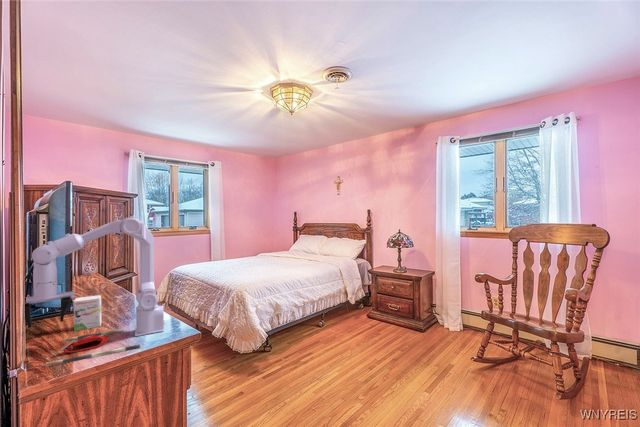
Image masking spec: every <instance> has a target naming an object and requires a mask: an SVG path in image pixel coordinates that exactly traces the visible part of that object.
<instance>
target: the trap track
mask: <svg viewBox="0 0 640 427" xmlns="http://www.w3.org/2000/svg"><path fill="white" fill-rule="evenodd" d="M124 332H125V328H120V329H113V330H107V331H101V332H94V333H90V334H85V335H79V336H73V337H66V338H65V337H64V338H63V339H62V342H63V343H65V342H72V341H73V340H74V341H79V340H80V339H82V338H85V337H87V336H92V335H98V336H99V335H110V334H111V335H112V334H117V333H124ZM140 348H141V344H135V345H129V346H125V347H120V348H115V349H108V350H105V351H100V352H99V351H98V352H94V353H89V354H85V355H79V356H74V357H69V358H64V359H63V358H62V359H59V360H58V359H57V360H54V361H53V360H52V361H48V362H45V364H44V367H45V368H46V367H50V366H52V367H53V366H56V365H61V364H65V363H67V364H68V363H70V362H76V361H81V360H85V359H91V358H96V357H101V356H106V355H112V354H115V353H122V352H125V351H126V352H127V351H131V350H135V349H136V350H137V349H140Z"/></svg>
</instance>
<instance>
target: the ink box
mask: <svg viewBox="0 0 640 427" xmlns="http://www.w3.org/2000/svg"><path fill="white" fill-rule="evenodd" d="M101 325H102V295H100V294H98V295H97V294H96V295H91V296H90V295H89V296H82V297H80V296H79V297H75V299H74V300H73V331H74V332H75V331H80V330H87V329H93V328H100V327H101Z"/></svg>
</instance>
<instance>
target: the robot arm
mask: <svg viewBox="0 0 640 427" xmlns="http://www.w3.org/2000/svg"><path fill="white" fill-rule="evenodd" d="M121 232H122V233H124V234H125V235H127V236H131V237H133V238H134V239H135V240H137V241H138V242H139V285H138V291H137V293H136V294H135V295H136V296H135V299H136V301H137V303H138V305H137V306H136V307H135V317H136V318H135V319H136V320H135V321H136V323H135V324H136V326H135V330H134V337H138V336H145V335H150V334H156V333H161V332H164V331H165V326H164V325H165V317H164V316H165V315H164V313H165V312H164V305H158V301H159V298H158V295H157V294H156V288H155V287H156V286H155V280H154V279H155V267H154V266H155V245H154V244H155V237H154V235H153V234H152V232H151V231H150V229H148V227H147V226H146V224H145V223H144V222H143V221H141V220H140V219H138V218H136V217H125V218H123V219H119V220H115V221H111V222H108V223H106V224H103V225H101V226H98V227H96V228H94V229H91V230H89V231H86V232H85V233H82V234H77V233H71V234H70V233H66V234H64V235H63V236H64V237H62V238H61V237H60V238H58V239H55V240H53V241H52V240H50V241H47V242H46V243H47V244H43V245H40V246H38V247H36V248H35V249H33V251H32V253H31V259H32V260H33V270H32V272H33V273H32V277H33V280H32V281H33V282H32V284H33V285H32V286H33V295H32V296H28V297H25V298H26V303H25V318H24V320H25V322H26V324H27V328H28V329H29V328H32V322H33V321H32V312H31V310H32V309H31V306H32V304H38V303H44V302H45V303H46V302H52V301H58V300H60V320H59V321H60V322H64V317H65V315H66V311H67V308H68V306H69V305H70V303H71V299H74V298H75V299H76V296H75V290H72V291H71V290H70V291H61V292H58V266H57V260H56V259H57V258H58V257H59V258H62V257H65V256H67V255H70V254H71V253H74V252H77V251H79V250H81V249H83V248H84V246H85V244H86V243H88V242H91V241H93V240H96V239H99V238H101V237H103V236H106V235H110V234H121Z"/></svg>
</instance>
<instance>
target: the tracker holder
mask: <svg viewBox="0 0 640 427" xmlns="http://www.w3.org/2000/svg"><path fill="white" fill-rule="evenodd" d="M108 339H109V338H108V334H106V335H99V336H98V335H92V336H87V337H85V338H82V339H78V340H77V341H76V340H72V341H70V342H69V343H66V344H64V345H63V346H62V347H61V348H60V351H61V352H63V353H67V354H71V353H72V354H73V353H78V352H79V353H80V352H83V351H89V350H92V349H97V348H99V347H102V346H105V344H106V343H107V341H108ZM95 341H99V342H100V343H99V344H98V345H95V346H90V347H86V348H81V349H77V350H76V349H75V350H69V349H70V348H72V346H73V347H77V346H80V345H84V344H87V343H91V342H95Z"/></svg>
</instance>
